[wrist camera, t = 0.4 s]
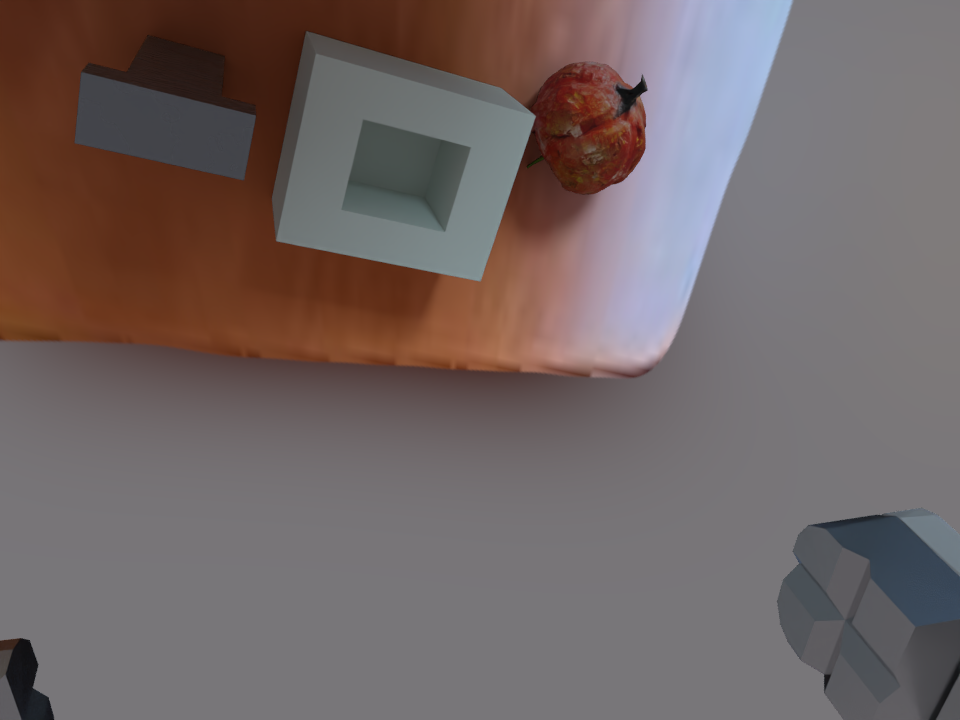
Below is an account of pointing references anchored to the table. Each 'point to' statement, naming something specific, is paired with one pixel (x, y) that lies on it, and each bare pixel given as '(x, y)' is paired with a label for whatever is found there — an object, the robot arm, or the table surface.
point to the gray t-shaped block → (167, 110)
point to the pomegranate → (589, 126)
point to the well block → (396, 160)
